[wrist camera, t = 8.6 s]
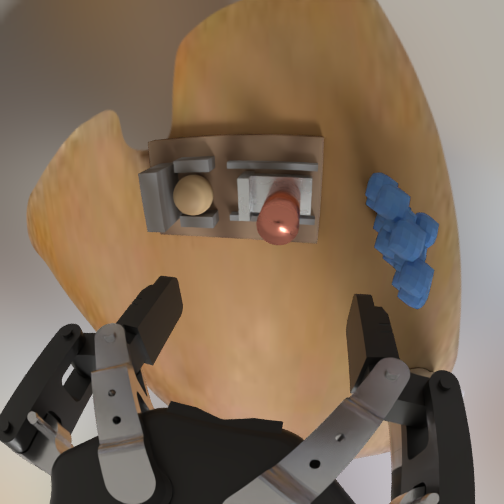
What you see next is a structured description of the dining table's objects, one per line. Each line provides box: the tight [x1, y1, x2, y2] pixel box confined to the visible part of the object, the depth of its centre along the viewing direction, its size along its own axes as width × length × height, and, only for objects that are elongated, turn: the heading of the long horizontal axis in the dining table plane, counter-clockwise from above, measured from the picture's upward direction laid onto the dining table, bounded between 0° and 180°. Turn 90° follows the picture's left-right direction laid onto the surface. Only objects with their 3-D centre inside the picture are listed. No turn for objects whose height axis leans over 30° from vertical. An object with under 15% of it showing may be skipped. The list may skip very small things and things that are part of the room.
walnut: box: [173, 175, 214, 215], centre depth 26 cm, size 4×4×4 cm
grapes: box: [365, 173, 439, 309], centre depth 22 cm, size 12×7×12 cm, turn 27°
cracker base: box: [138, 134, 324, 243], centre depth 26 cm, size 18×11×6 cm, turn 92°
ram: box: [237, 171, 312, 245], centre depth 23 cm, size 6×4×8 cm, turn 92°
